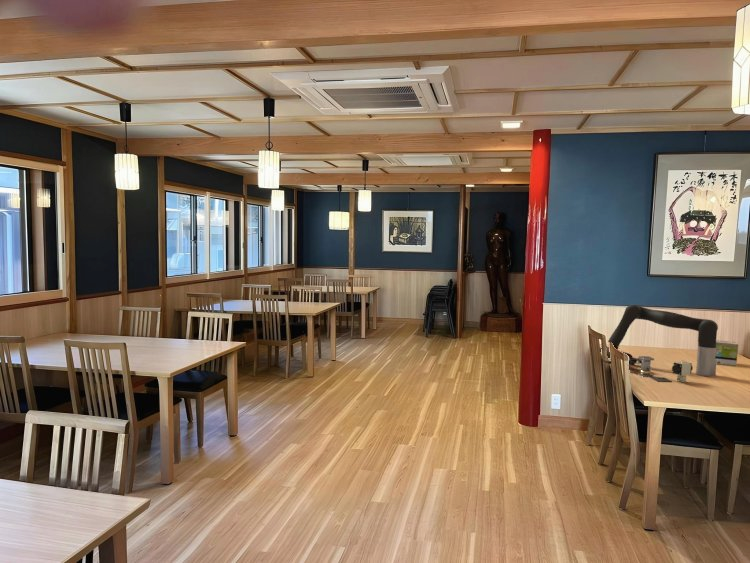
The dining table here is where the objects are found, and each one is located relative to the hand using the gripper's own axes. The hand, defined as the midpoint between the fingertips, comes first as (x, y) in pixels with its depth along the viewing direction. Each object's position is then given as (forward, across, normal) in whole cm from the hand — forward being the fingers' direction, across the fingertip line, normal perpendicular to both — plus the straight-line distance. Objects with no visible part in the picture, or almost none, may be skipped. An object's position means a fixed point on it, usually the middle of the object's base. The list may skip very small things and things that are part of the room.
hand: (640, 363), depth 324 cm
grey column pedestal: (+5, 0, +6) cm, 8 cm away
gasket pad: (+15, +2, +6) cm, 17 cm away
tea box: (-21, +78, +6) cm, 81 cm away
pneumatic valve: (+20, +12, +6) cm, 24 cm away
